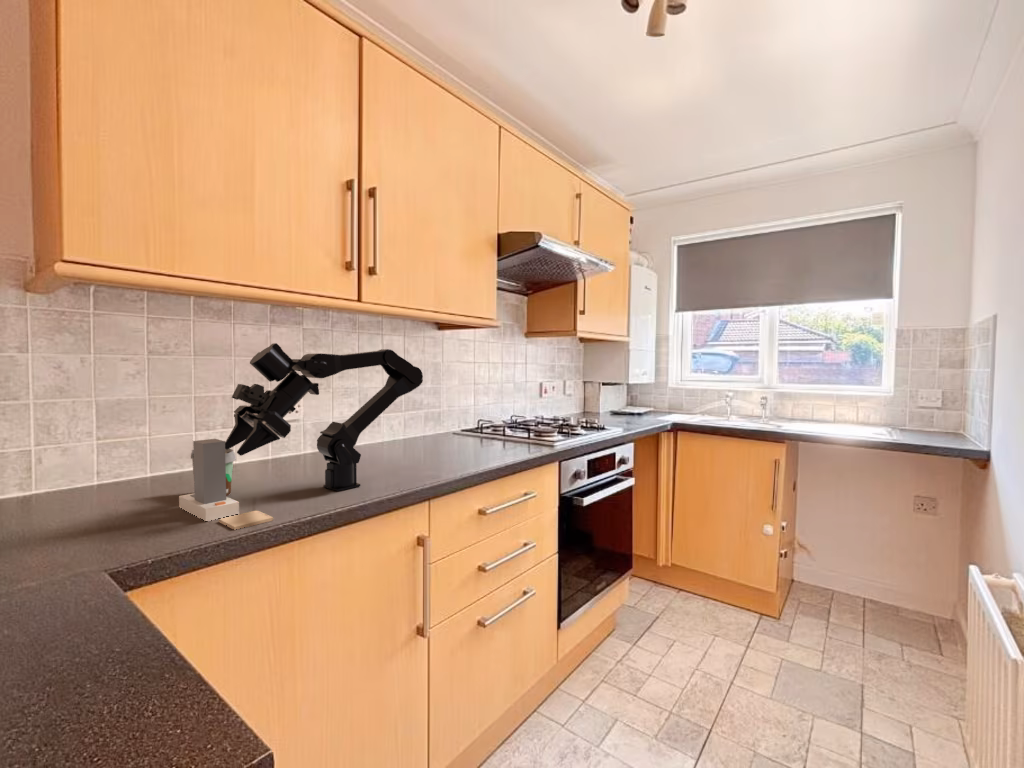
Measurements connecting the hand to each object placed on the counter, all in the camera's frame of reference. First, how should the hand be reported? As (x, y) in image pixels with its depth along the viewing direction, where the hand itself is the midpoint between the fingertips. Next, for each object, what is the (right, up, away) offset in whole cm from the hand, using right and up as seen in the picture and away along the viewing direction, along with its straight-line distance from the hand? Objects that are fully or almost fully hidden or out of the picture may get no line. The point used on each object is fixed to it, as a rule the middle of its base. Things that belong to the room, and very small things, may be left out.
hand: (231, 451), depth 101 cm
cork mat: (+7, -12, -8) cm, 16 cm away
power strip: (-6, -12, 0) cm, 13 cm away
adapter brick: (-3, -10, -2) cm, 10 cm away
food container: (-9, -12, +12) cm, 19 cm away
